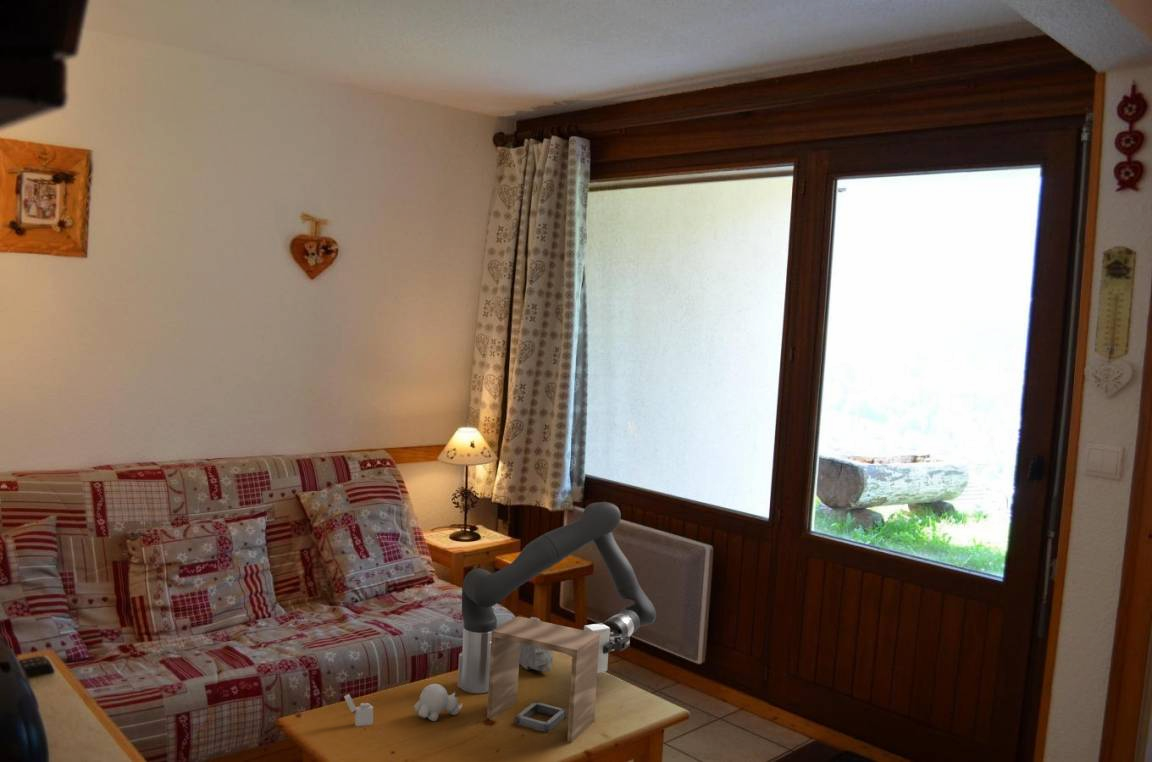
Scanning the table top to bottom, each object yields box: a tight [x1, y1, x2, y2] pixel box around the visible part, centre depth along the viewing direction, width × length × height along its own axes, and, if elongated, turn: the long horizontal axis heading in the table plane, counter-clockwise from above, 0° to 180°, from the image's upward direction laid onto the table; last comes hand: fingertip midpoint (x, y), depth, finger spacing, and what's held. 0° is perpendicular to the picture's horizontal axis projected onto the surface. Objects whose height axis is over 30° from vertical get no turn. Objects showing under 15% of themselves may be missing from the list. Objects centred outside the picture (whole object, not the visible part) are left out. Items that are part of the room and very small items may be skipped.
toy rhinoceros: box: [413, 683, 463, 722], centre depth 231 cm, size 7×12×8 cm, turn 114°
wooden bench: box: [486, 615, 600, 744], centre depth 232 cm, size 24×14×24 cm, turn 65°
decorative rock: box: [519, 616, 554, 672], centre depth 268 cm, size 16×7×15 cm, turn 31°
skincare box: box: [583, 622, 610, 674], centre depth 241 cm, size 6×4×12 cm
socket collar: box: [514, 701, 567, 734], centre depth 233 cm, size 9×11×2 cm
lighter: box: [343, 693, 374, 727], centre depth 224 cm, size 7×2×8 cm, turn 113°
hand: (592, 647), depth 239 cm, fingers closed on skincare box, 6 cm apart
